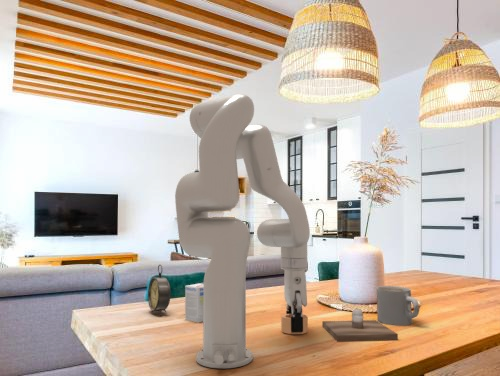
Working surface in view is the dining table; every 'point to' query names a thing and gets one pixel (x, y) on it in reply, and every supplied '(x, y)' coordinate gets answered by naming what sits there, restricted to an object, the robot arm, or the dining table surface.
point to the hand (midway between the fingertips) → (294, 327)
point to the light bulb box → (194, 302)
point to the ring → (287, 324)
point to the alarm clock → (159, 293)
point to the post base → (358, 329)
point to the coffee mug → (395, 305)
